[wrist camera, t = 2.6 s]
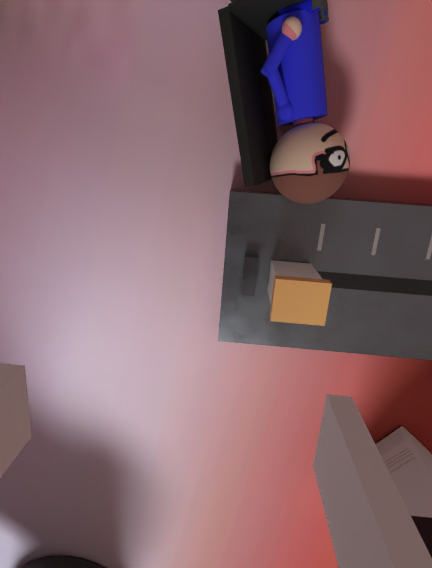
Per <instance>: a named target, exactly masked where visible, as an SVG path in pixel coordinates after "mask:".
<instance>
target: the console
mask: <svg viewBox="0 0 432 568" xmlns="http://www.w3.org/2000/svg"><path fill="white" fill-rule="evenodd" d="M271 260H273V261H285V262H298V263H310V264H312V266H313V267H314V268H315V270H316V271H317V272H318V274H319V275H320V276H321V278H322V279H326V280H330V282H331V283H332V287H331V293H330V298H329V304H328V310H327V315H326V321H325V326H320V325H308V324H297V323H286V322H274V321H270V308H271V304H270V299H269V295H268V291H267V289H268V281H269V273H270V264H271ZM218 341H224V342H235V343H246V344H257V345H269V346H280V347H291V348H302V349H313V350H324V351H335V352H346V353H358V354H369V355H380V356H391V357H402V358H413V359H424V360H432V205H425V204H411V203H398V202H385V201H371V200H358V199H345V198H331V197H328V198H327V199H325V200H323V201H320V202H317V203H311V204H302V203H297V202H294V201H291V200H289V199H287V198H286V197H284V196H283V195H282V194H278V193H265V192H252V191H238V190H230V198H229V210H228V223H227V236H226V248H225V261H224V274H223V286H222V299H221V312H220V324H219V337H218Z"/></svg>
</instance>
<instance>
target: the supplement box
mask: <svg viewBox="0 0 432 568" xmlns="http://www.w3.org/2000/svg"><path fill="white" fill-rule="evenodd" d="M375 445H376V447H377V449H378V451H379V453H380V455H381V457H382V459H383V461H384V463H385V465H386V467H387V469H388V471H389V473H390V475H391V477H392V479H393V481H394V483H395V485H396V487H397V489H398V491H399V493H400V495H401V497H402V499H403V501H404V503H405V505H406V507H407V509H408V511H409V513H410V515H411V516H420V517H430V518H432V454H431V453H430V452H429V451H428V450H427V449H426V448H425V447H424V446H423V445H422V444H421V443H420V442H419V441H418V440H417V439H416V438H415V437H414V436H413V435H412V434H411V433H410V432H409V431H407V430H406V429H405V428H404V427H403V426H401V427H400V428H398V429H397V430H395V431H394V432H393V433H391V434H390V435H388V436H387V437H385V438H384V439H382V440H381V441H380V442H378V443H377V444H375Z"/></svg>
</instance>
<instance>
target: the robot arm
mask: <svg viewBox="0 0 432 568" xmlns="http://www.w3.org/2000/svg"><path fill="white" fill-rule="evenodd" d="M31 438H32V434H31V424H30V414H29V404H28V394H27V384H26V374H25V366H22V365H12V364H0V478H1V477H2V475H3V474H4V473H5V471H6V470H7V469H8V467H9V466H10V465H11V464H12V462H13V461H14V460H15V458H16V457H17V456H18V455H19V453H20V452H21V451H22V449H23V448H24V447H25V445H26V444H27V443H28V442H29V440H30V439H31ZM313 467H314V471H315V475H316V479H317V483H318V487H319V491H320V495H321V499H322V503H323V507H324V511H325V515H326V519H327V523H328V527H329V531H330V535H331V539H332V543H333V547H334V551H335V555H336V559H337V563H338V567H339V568H432V518H430V517H420V516H411V515H410V513H409V511H408V509H407V507H406V505H405V503H404V501H403V499H402V497H401V495H400V493H399V491H398V489H397V487H396V485H395V483H394V481H393V479H392V477H391V475H390V473H389V471H388V469H387V467H386V465H385V463H384V461H383V459H382V457H381V455H380V453H379V451H378V449H377V447H376V445H375V443H374V441H373V439H372V437H371V435H370V433H369V431H368V429H367V427H366V425H365V422H364V420H363V418H362V416H361V414H360V412H359V410H358V408H357V406H356V404H355V402H354V400H353V398H352V397H348V396H338V395H327V396H326V401H325V406H324V411H323V417H322V422H321V427H320V433H319V438H318V443H317V448H316V454H315V459H314V464H313ZM22 568H102V567H101V566H99V565H96V564H94V563H92V562H89V561H86V560H82V559H78V558H73V557H64V556H53V557H45V558H40V559H37V560H34V561H32V562H29V563H28V564H26V565H24V566H23V567H22Z"/></svg>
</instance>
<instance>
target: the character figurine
mask: <svg viewBox="0 0 432 568" xmlns="http://www.w3.org/2000/svg"><path fill="white" fill-rule="evenodd" d="M230 1H231V2H233V3H230V4H228V6H227V7H225V8H223V9H220V10H218V14H219V20H220V27H221V33H222V40H223V46H224V53H225V59H226V66H227V72H228V79H229V85H230V92H231V98H232V105H233V111H234V118H235V124H236V131H237V137H238V144H239V150H240V157H241V163H242V170H243V176H244V183H245V187H247V186H253V185H257V184H260V183H263V182H266V181H269V180H271V179H272V181H273V183H274V185H275V187H276V188H277V190H278V191H279V192H280V193H281V194H282V195H283V196H284V197H286V198H287V199H289V200H291V201H294V202H297V203H302V204H311V203H317V202H320V201H323V200H325V199H327V198H328V197H330V196H331V195H333V194H334V193H335V192H336V191H337V190H338V189H339V188H340V187H341V185H342V184H343V182H344V181H345V179H346V176H347V174H348V170H349V166H350V155H349V150H348V146H347V144H346V142H345V140H344V138H343V137H342V136H341V134H340V133H339V132H338V131H336V130H335V129H334V128H332V127H330V126H328V125H326V124H322V123H316V122H314V121H315V119H319V118H322V117H325V116H327V103H326V91H325V80H324V68H323V56H322V45H321V33H320V24H324V23H326V22H327V21H328V20H329V18H328V5H327V0H230ZM265 40H267V41H268V49H269V56H268V58H267V55H266V47H265ZM270 86H271V87H270ZM271 88H272V91H273V94H274V98H275V106H276V114H277V123H278V126H285V125H293V126H295V127H293V128H292V129H290V130H288V131H287V132H286V133H285V134H284V135H283V136H282V137H281V138H280V139H279V140H278V142H277V135H276V127H275V119H274V111H273V103H272V95H271Z"/></svg>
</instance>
